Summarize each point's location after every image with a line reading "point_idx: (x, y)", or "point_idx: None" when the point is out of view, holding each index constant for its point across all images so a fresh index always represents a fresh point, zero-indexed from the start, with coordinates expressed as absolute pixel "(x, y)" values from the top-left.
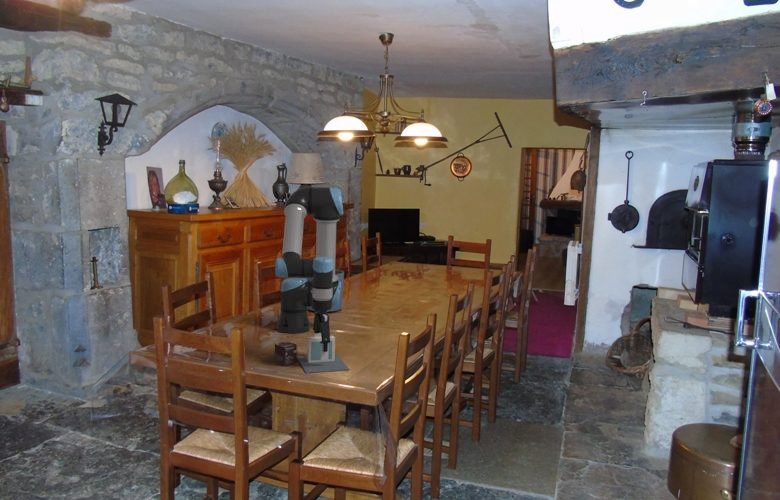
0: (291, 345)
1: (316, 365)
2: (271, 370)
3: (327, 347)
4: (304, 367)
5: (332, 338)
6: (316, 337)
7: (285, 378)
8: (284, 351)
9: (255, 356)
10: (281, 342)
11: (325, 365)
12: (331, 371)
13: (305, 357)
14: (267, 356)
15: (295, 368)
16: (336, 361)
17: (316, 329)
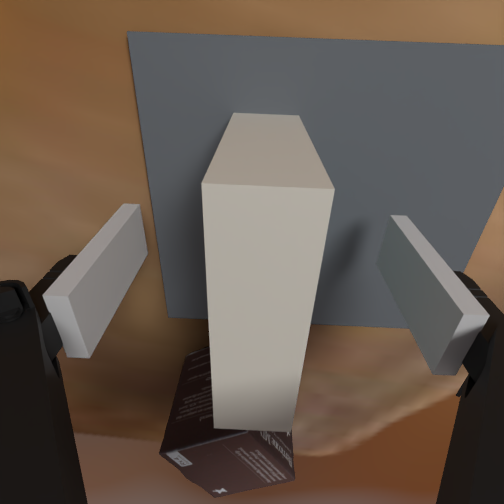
0: (264, 455)
1: (352, 261)
2: (321, 416)
3: (490, 301)
4: (357, 321)
5: (324, 225)
6: (245, 377)
7: (444, 397)
8: (292, 453)
9: (128, 429)
10: (186, 476)
11: (377, 211)
12: (492, 197)
13: (181, 282)
14: (130, 402)
15: (334, 347)
16: (322, 104)
17: (62, 398)
